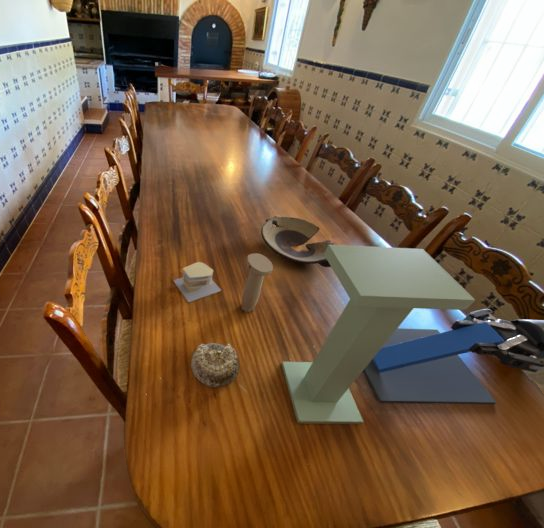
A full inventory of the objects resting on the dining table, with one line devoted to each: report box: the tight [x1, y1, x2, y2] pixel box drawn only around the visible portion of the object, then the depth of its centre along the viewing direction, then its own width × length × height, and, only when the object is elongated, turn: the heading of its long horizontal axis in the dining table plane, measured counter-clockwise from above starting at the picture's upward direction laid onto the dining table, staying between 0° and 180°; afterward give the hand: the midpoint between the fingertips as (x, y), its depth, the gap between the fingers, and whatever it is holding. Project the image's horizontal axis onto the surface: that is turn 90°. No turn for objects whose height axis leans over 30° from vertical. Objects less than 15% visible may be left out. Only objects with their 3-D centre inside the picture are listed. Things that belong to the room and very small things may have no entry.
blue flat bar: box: [373, 322, 504, 372], centre depth 61 cm, size 22×4×1 cm, turn 89°
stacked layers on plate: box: [172, 261, 222, 303], centre depth 78 cm, size 10×9×6 cm
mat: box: [363, 327, 497, 405], centre depth 65 cm, size 24×18×1 cm
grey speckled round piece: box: [190, 342, 240, 389], centre depth 60 cm, size 10×10×5 cm
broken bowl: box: [260, 215, 335, 268], centre depth 91 cm, size 22×30×8 cm
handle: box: [241, 252, 274, 313], centre depth 70 cm, size 5×6×15 cm
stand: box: [281, 244, 476, 425], centre depth 48 cm, size 14×12×32 cm
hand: (464, 336), depth 58 cm, fingers closed on blue flat bar, 4 cm apart
